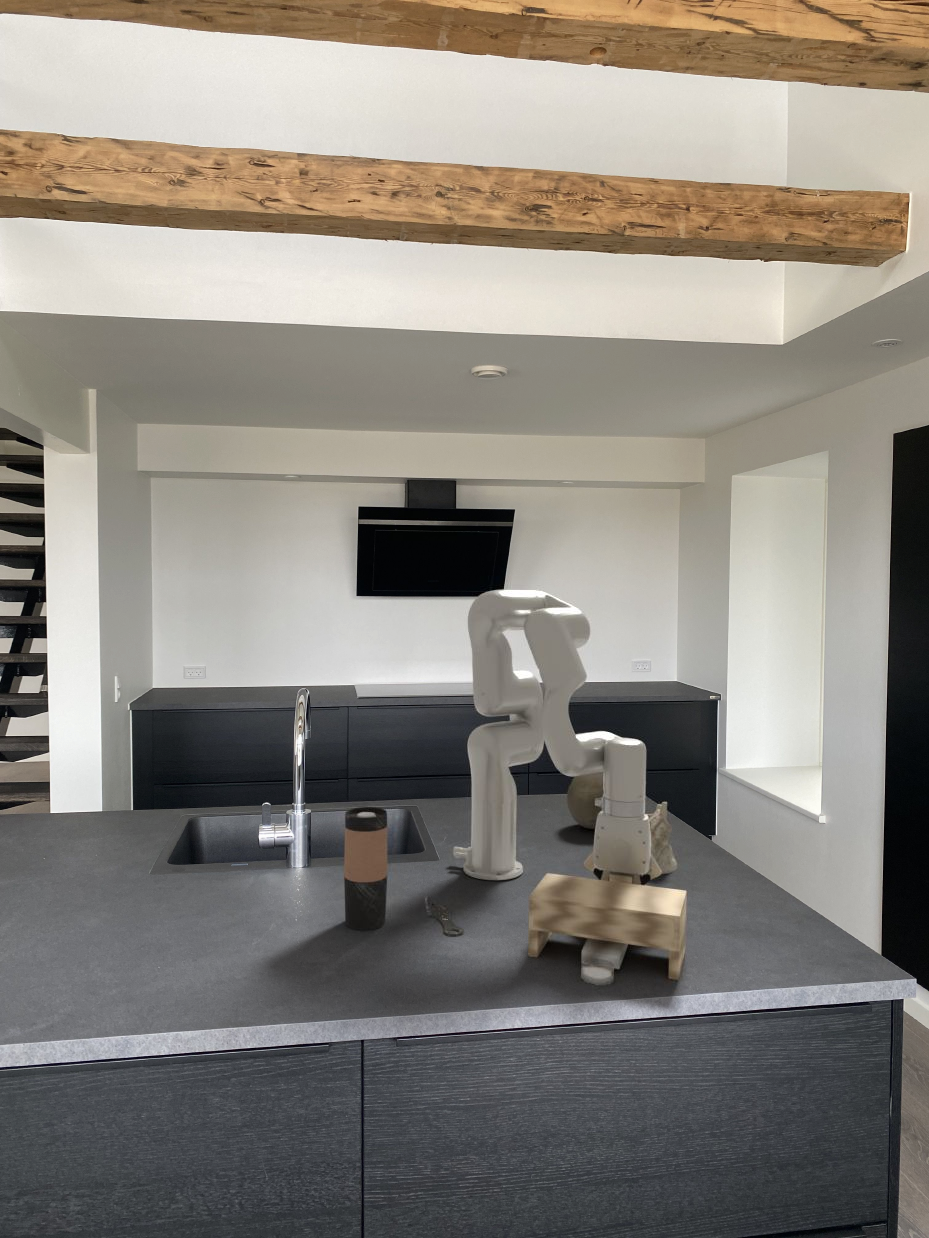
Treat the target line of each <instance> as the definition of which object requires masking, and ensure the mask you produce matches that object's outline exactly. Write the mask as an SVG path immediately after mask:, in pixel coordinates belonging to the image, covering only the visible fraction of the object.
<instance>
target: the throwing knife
mask: <svg viewBox="0 0 929 1238" xmlns="http://www.w3.org/2000/svg"><path fill="white" fill-rule="evenodd" d="M424 903H425V909H426V912H428V913H427V915H428V917H430V916H432V917H431V918H434V917H435V919H436V918H437V919H436V920H437V921H438V922H439V923H440V922H441V923H442V924H441V923H440V924H441V926H442V927H443V934H444V933H445V934H444V935H445V936H448V935H450V936H449V937H458V936H457V935H460V936H463V935H464V934H463V933H464V932H465V930H464V928H462V927H460V926H459V925H456V924H455V923H454V922H453V920H452V919H451V918H450V916H449V914H451V915H452V913H451V912H450V910H448V909H447V910H446V908H445V907H444V906H442V905H441V904H439V903H438V902H436V901H435V900H434V899H432V898H430V897H428V896H426V898H424ZM432 904H433V905H432ZM434 905H435V906H434ZM439 913H440V914H439ZM442 916H443V917H442ZM444 919H448V920H444ZM451 930H452V931H454V930H455V932H452V931H451ZM449 931H450V932H449ZM458 931H459V932H458ZM462 934H463V935H462Z"/></svg>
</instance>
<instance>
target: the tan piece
mask: <svg viewBox="0 0 929 1238" xmlns="http://www.w3.org/2000/svg"><path fill="white" fill-rule="evenodd" d="M609 881H613V882H621V883H629V884H634V880H633V874H629V873H620V872H612V871H611V873H610V874H609ZM628 946H629V944H625V943H619V942H612V941H605V940H598V939H592V938H586V941H585V943H584V945H583V947H582V950H581V959H580V960H581V961H580V963H581V964H582V962H583V961H585V960H588V959H602V960H606V961H608V962H610V963H612V964H613V966H614V970H620V968H621V965H622V962H623V960H624V957H625V954H626V951H627V948H628Z"/></svg>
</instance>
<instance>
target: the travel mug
mask: <svg viewBox="0 0 929 1238" xmlns="http://www.w3.org/2000/svg"><path fill="white" fill-rule="evenodd" d="M344 826H345V827H344V867H343V868H344V869H343V870H344V871H343V878H344V879H343V880H344V881H343V883H344V885H343V886H344V917H345V918H344V921H345V926H346V927H348V928H349V929H351V930H355V931H372V930H377V929H379V928H382V927H383V926H384V925H385V923H386V917H387V916H386V914H387V913H386V912H387V890H388V889H387V888H388V811H387V810H385V808H382V807H381V808H380V807H375V806H362V807H355V808H351V809H348V810H346V811H345V813H344Z"/></svg>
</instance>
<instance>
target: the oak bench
mask: <svg viewBox="0 0 929 1238" xmlns="http://www.w3.org/2000/svg"><path fill="white" fill-rule="evenodd" d="M687 893H688V892H687V890H685V889H684V890H683V889H675V888H669V887H668V888H666V887H660V886H651V885H646V884H645V885H637V884H629V883H621V882H613V881H605V880H599V879H598V878H597V879H595V878H590V877H589V878H587V877H580V876H573V875H572V876H571V875H565V874H556V873H548V872H547V873H546V874H545V875H544V876H543V877H542V879H541V880H540V881H539V882H538V884H537V885H536V886H535V888H534V889H533V891H532V892H531V893H530V895H529V896H528V897H529V898H528V899H529V900H528V901H529V903H528V904H529V905H528V951H527V952H528V954H527V956H528V957H532V958H538V957H539V955H540V954H541V953H542V951H543V950H544V948H545V946H546V944H547V943H548V941H549V939H550V938H551V936H552V935H553V934H560V935H565V936H566V935H567V936H571V937H578V938H585V939H588V938H592V939H598V940H605V941H612V942H619V943H625V944H628V945H632V946H633V945H634V946H639V947H640V946H641V947H646V948H653V949H661V950H666V951H668V979H670V980H675V981H679V980H680V976H681V970H682V967H683V963H684V962H683V961H684V957H685V952H686V942H687V940H686V939H687V938H686V934H687V932H686V931H687V901H688V900H687V899H688V898H687Z"/></svg>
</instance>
